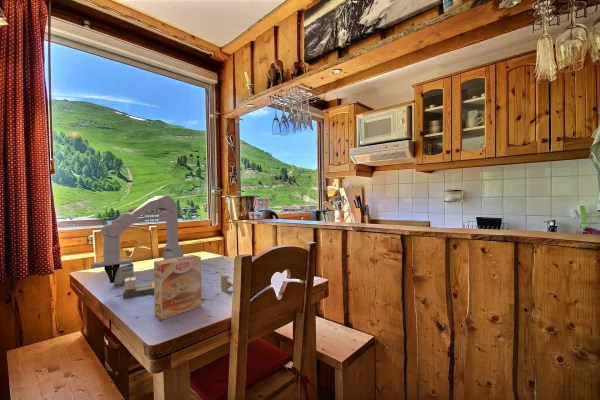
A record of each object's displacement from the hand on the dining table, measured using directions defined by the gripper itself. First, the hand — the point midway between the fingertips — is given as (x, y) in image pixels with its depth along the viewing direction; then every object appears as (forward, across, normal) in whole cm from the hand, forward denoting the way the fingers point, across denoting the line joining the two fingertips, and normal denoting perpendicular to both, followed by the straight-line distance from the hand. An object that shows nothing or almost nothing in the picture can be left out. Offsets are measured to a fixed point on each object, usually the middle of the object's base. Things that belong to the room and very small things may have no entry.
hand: (112, 282), depth 117 cm
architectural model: (+6, +44, -21) cm, 49 cm away
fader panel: (+6, +12, 0) cm, 13 cm away
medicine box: (+6, +3, +21) cm, 22 cm away
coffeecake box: (+6, +23, -32) cm, 40 cm away
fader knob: (+4, +7, 0) cm, 8 cm away
